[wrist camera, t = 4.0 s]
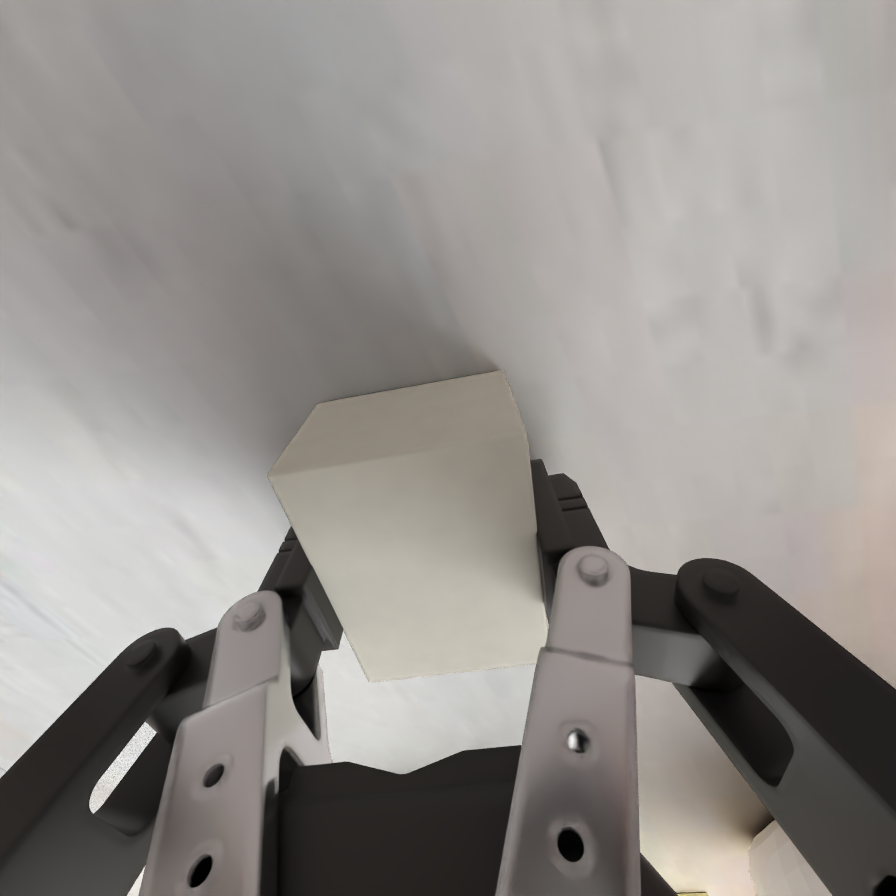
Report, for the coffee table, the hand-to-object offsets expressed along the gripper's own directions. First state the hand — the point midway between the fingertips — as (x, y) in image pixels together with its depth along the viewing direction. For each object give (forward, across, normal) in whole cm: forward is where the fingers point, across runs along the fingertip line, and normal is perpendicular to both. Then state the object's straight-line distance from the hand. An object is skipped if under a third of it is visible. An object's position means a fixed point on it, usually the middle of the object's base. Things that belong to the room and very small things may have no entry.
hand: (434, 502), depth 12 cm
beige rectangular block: (0, 0, 0) cm, 0 cm away
